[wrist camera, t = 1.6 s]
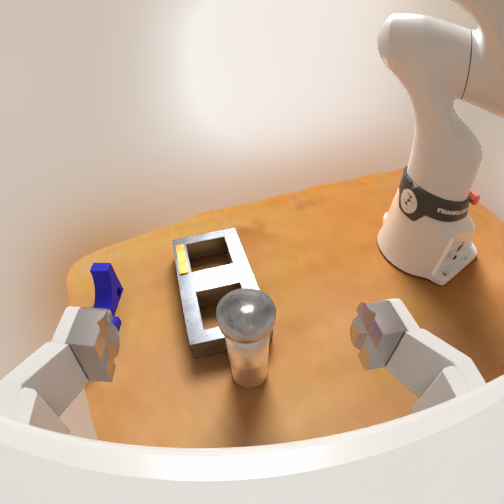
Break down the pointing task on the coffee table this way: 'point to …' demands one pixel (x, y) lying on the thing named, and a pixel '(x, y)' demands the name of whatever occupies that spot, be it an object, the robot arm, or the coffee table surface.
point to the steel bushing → (247, 333)
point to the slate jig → (209, 283)
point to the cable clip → (106, 289)
